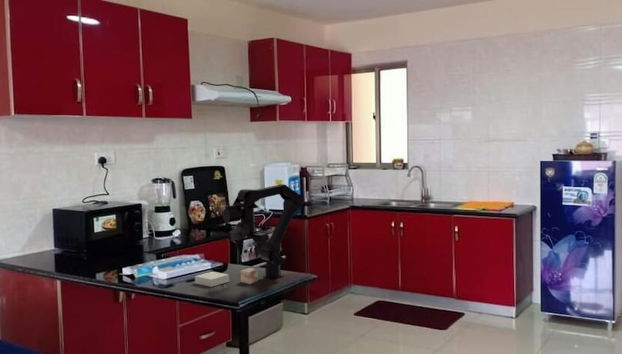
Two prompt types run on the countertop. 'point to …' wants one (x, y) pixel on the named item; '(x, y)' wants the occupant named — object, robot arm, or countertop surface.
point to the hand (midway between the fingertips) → (248, 256)
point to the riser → (211, 279)
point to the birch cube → (249, 275)
